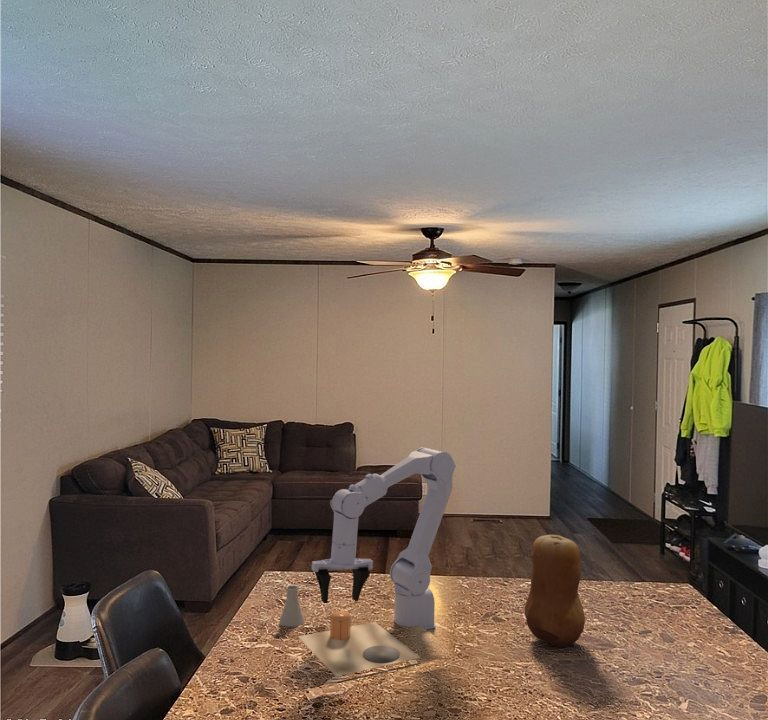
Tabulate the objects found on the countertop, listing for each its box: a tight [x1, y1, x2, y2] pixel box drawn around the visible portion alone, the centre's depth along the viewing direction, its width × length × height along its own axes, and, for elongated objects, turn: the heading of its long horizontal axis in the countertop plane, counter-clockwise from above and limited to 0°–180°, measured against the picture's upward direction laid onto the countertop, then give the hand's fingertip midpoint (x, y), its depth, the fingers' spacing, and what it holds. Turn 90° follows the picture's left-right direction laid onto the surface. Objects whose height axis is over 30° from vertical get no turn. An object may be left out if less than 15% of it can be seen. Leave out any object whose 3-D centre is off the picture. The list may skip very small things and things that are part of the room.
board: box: [297, 621, 421, 685], centre depth 160 cm, size 20×22×6 cm
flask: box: [279, 584, 306, 628], centre depth 174 cm, size 7×7×10 cm
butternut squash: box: [524, 534, 586, 649], centre depth 167 cm, size 14×13×25 cm
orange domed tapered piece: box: [329, 610, 352, 640], centre depth 166 cm, size 4×4×5 cm
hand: (339, 600), depth 166 cm, fingers open, 7 cm apart
